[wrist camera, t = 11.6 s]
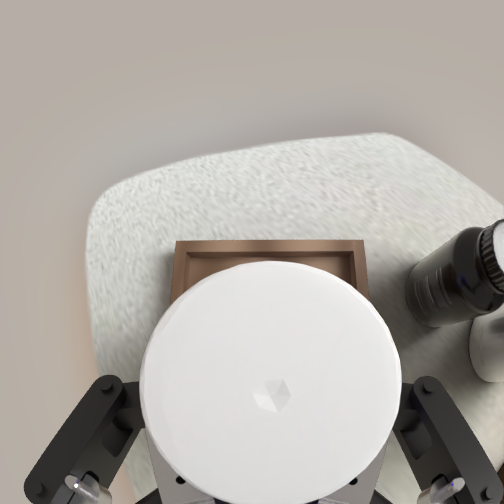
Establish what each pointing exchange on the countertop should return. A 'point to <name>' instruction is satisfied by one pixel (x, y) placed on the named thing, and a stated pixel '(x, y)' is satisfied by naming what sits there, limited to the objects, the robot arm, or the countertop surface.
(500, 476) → the olive oil
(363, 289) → the walnut tray
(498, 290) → the supplement bottle
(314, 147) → the countertop surface
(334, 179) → the countertop surface
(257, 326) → the bottle
